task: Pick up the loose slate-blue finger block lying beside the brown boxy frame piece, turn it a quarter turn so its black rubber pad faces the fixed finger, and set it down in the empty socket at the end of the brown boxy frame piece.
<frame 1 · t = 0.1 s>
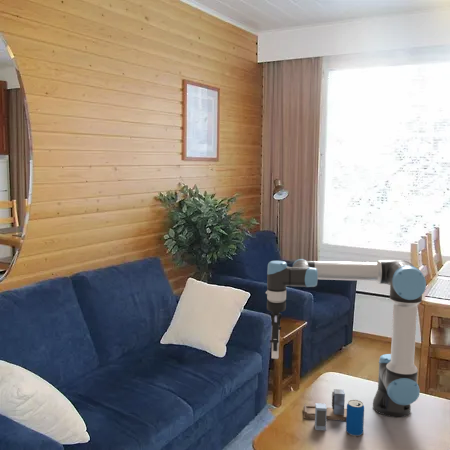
hand: (275, 351, 204), 28 cm above the table, fingers open, 13 cm apart
brown boxy frame piece: (325, 415, 210), on the table
beverage can: (354, 433, 197), on the table
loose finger: (320, 427, 200), on the table
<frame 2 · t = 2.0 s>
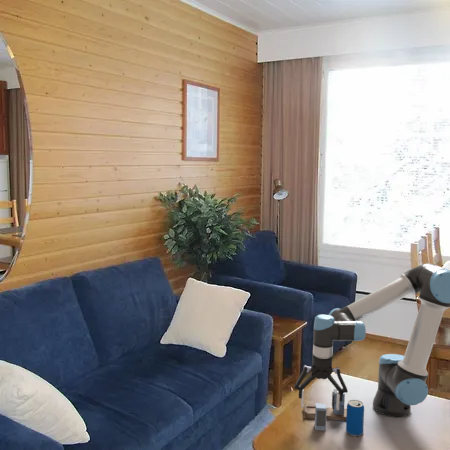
hand: (319, 407, 199), 8 cm above the table, fingers open, 13 cm apart
nothing on the table moved.
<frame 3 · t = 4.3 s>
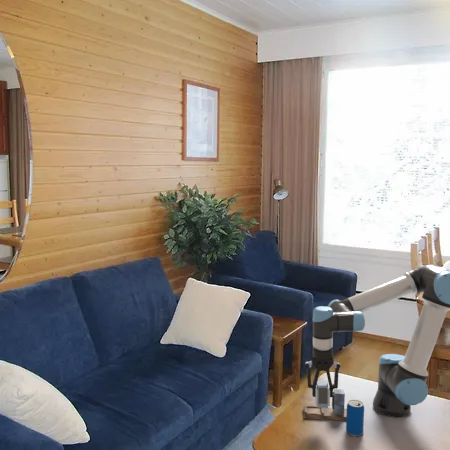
hand: (322, 404, 199), 10 cm above the table, fingers closed on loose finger, 4 cm apart
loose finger: (322, 405, 199), point 9 cm above the table, touching gripper
everything else where it was.
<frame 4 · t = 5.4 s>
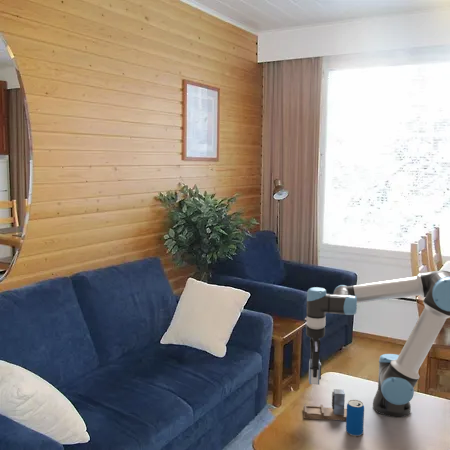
hand: (314, 381, 208), 14 cm above the table, fingers closed on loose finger, 4 cm apart
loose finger: (313, 382, 208), point 14 cm above the table, touching gripper
everything else where it was.
when the fingers open (3 cm above the table, at t = 7.1 s): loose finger stays where it is, resting on brown boxy frame piece.
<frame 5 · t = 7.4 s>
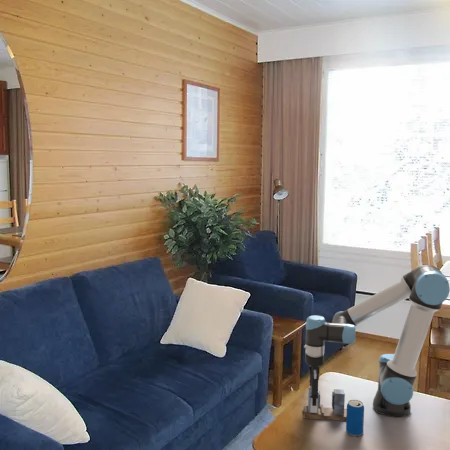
hand: (313, 406, 210), 3 cm above the table, fingers open, 8 cm apart
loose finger: (313, 410, 210), point 1 cm above the table, touching brown boxy frame piece
everything else where it was.
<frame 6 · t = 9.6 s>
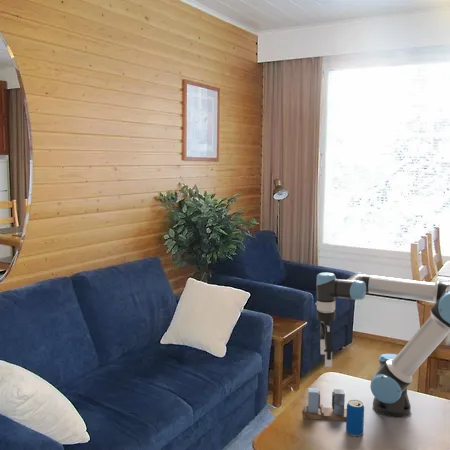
hand: (326, 360, 212), 21 cm above the table, fingers open, 13 cm apart
nothing on the table moved.
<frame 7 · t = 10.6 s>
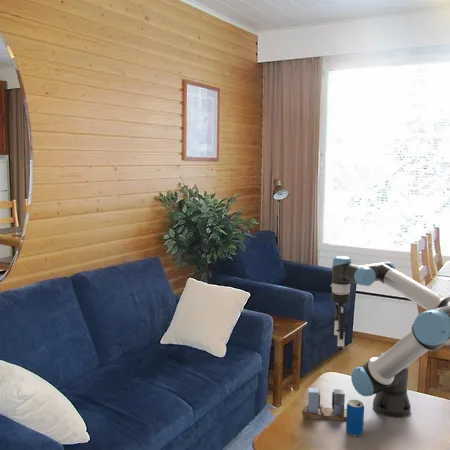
hand: (339, 340, 220), 27 cm above the table, fingers open, 13 cm apart
nothing on the table moved.
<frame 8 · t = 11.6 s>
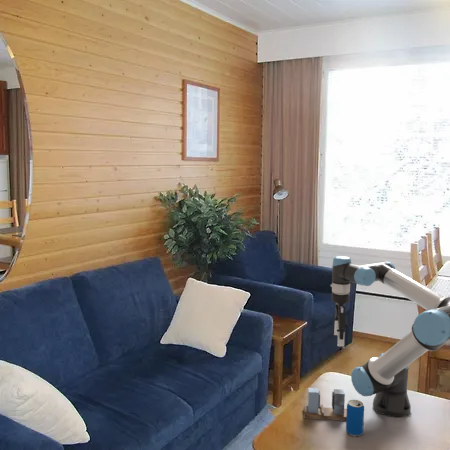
hand: (339, 340, 220), 27 cm above the table, fingers open, 13 cm apart
nothing on the table moved.
at the end: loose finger 0.0 cm from the target spot on the brown boxy frame piece, point 1.5 cm above the brown boxy frame piece's base; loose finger tilted 0°; the gripper is holding nothing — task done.
